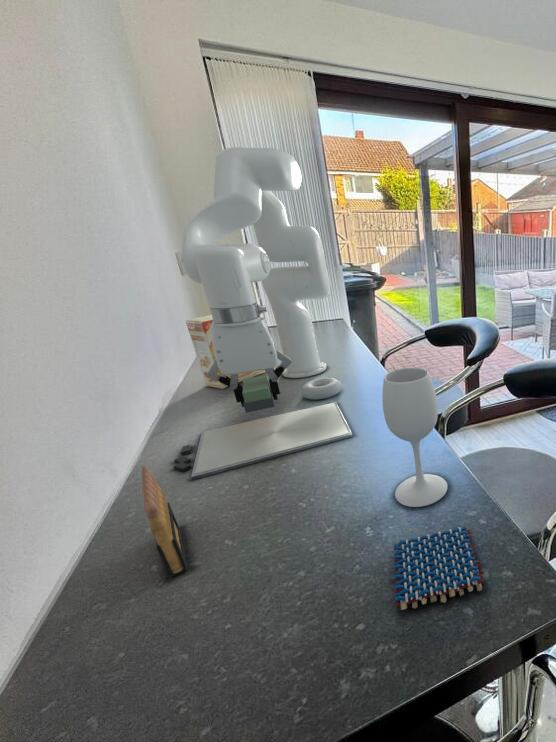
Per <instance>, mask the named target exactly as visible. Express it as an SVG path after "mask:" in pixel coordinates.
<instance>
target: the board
mask: <svg viewBox="0 0 556 742" xmlns="http://www.w3.org/2000/svg"><path fill="white" fill-rule="evenodd" d="M353 437H354V436H353V432H352V430H351V428H350V427H349V424H348V422H347V420H346V419H345V416H344V414H343V412H342V410H341V409H340V407H339V404H338V402H337V401H332V402H328V403H323V404H319V405H314V406H310V407H306V408H302V409H297V410H293V411H288V412H284V413H279V414H275V415H271V416H266V417H261V418H257V419H253V420H249V421H244V422H239V423H235V424H231V425H227V426H226V425H225V426H222V427H218V428H213V429H208V430H204V431H201V434H200V438H199V442H198V447H197V450H196V454H195V459H194V462H193V467H192V472H191V475H190V478H191V480H193V481H194V480H197V479H200V478H205V477H207V476H212V475H216V474H219V473H223V472H226V471H230V470H233V469H237V468H241V467H245V466H249V465H252V464H256V463H260V462H263V461H268V460H271V459H275V458H279V457H282V456H286V455H290V454H293V453H296V452H301V451H305V450H309V449H311V448H315V447H319V446H323V445H327V444H330V443H334V442H337V441H341V440H346V439H348V438H353Z"/></svg>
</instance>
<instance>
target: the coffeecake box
mask: <svg viewBox="0 0 556 742" xmlns="http://www.w3.org/2000/svg"><path fill="white" fill-rule="evenodd" d="M212 323H214V321H213V318H212V315H211V314H210V315H205V316H200V317H196V318H192V319H186V320H185V324H186V327H187V330H188V333H189V336H190V340H191V343H192V347H193V348H194V352H195V356H196V358H197V360H198V364H199V367H200V371H201V373H202V376H203V380H204V383H205V386H206V387H209V388H215V389H221V390H222V389H225V388H228V387H229V386H227V385H224V384H222V383H220V382H219V381H216V380H213V379H210V378H208V377H207V376H206V375H207V372H208V371H209V369H210V367H211V366H212V364H213V362H214V361H215V359H216V357H215V353H214V348H213V343H212V337H211V328H210V325H211V324H212ZM217 372H218V373H219V374H221V375H224V374H222V373H221V372H220V370H219V369H218V371H217ZM265 373H266V371H265V370H259V371H254V372H248V373H242V374H238V382H240V383H241V382H243V379H246V378H252V377H257V376H260V375H262V374H265ZM225 376H227V377H229V378H231V375H225Z"/></svg>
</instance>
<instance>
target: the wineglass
mask: <svg viewBox="0 0 556 742" xmlns="http://www.w3.org/2000/svg"><path fill="white" fill-rule="evenodd" d="M381 398H382V411H383V417H384V420H385V423H386V426H387V428H388V430H389V431H390V433H392V434H393V435H394V436H395V437H397V438H398V439H400V440H402V441H405V442H409V443H410V445H411V447H412V452H413V457H414V465H415V475H413V476H410V477H409V478H406V479H405V480H403V481H402V482H401V483H400V484H399V485H398V486H397V487H396V489H395V492H394V497H395V500H396V501H397V502H398V503H399V504H400V505H403V506H406V507H409V508H422V507H426V506H429V505H433V504H434V503H437V502H438V501H440V500H441V499H442V498H443V497H444V496H445V495H446V494H447V491H448V483H447V481H446V480H445V478H443V477H441V476H439V475H437V474H431V473H424V471H423V466H422V459H421V449H420V448H421V447H420V444H421V441H422V440H424V439H425V438H427V436H429V435H430V434H431V432H433V430H434V428H435V427H436V425H437V422H438V417H439V408H438V406H439V405H438V399H437V393H436V389H435V386H434V383H433V380H432V377H431V374H430V372H429V371H428V370H427V369H426V368H422V367H416V366H415V367H414V366H413V367H412V366H410V367H401V368H397V369H393V370H391V371H389V372H387V373H386V374H385V375H384V377H383V381H382V397H381Z"/></svg>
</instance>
